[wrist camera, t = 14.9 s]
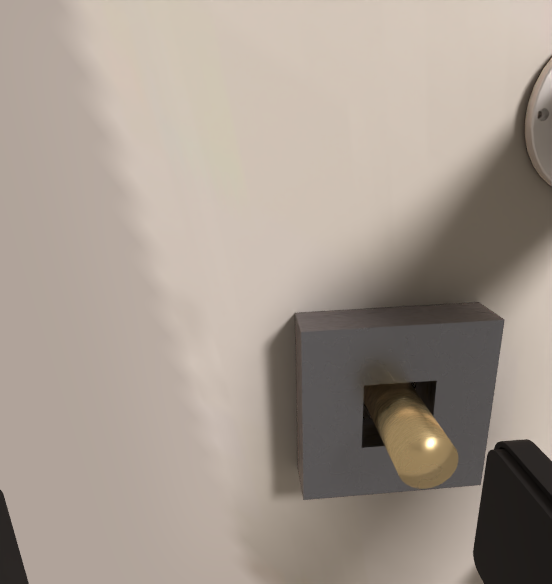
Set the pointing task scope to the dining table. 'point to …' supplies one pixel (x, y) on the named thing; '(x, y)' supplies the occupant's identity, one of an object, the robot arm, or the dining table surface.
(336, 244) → the dining table surface
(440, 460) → the brass peg
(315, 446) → the socket block
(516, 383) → the dining table surface
